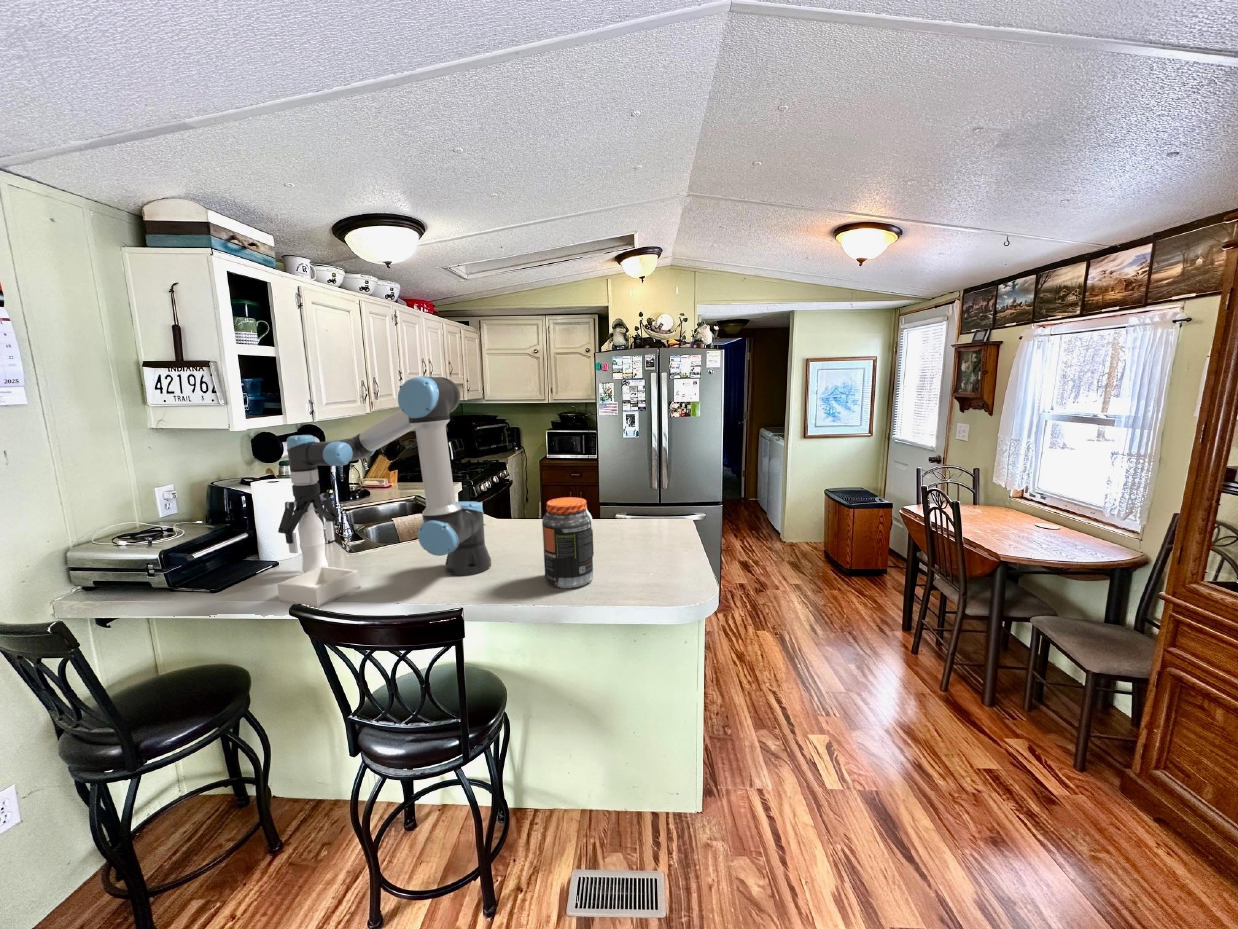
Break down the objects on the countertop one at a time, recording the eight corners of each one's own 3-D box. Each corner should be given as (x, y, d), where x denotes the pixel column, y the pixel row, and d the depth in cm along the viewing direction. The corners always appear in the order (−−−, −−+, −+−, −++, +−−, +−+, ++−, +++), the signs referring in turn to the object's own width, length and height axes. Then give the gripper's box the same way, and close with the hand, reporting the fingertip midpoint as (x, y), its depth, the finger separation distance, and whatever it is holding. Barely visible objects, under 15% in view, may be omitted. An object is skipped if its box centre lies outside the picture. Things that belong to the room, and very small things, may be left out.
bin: (360, 587, 157) (358, 570, 156) (318, 608, 143) (315, 589, 142) (324, 582, 161) (322, 565, 160) (279, 601, 147) (277, 583, 146)
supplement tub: (601, 574, 165) (599, 497, 160) (582, 592, 150) (580, 509, 146) (558, 568, 170) (555, 494, 166) (535, 586, 155) (532, 505, 151)
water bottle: (310, 572, 170) (302, 500, 166) (332, 571, 171) (324, 499, 167) (299, 580, 163) (290, 505, 159) (322, 579, 164) (313, 505, 160)
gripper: (329, 475, 175) (336, 534, 178) (258, 490, 151) (267, 557, 155) (346, 476, 172) (352, 535, 176) (276, 491, 149) (285, 559, 153)
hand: (313, 546), depth 165 cm, fingers open, 13 cm apart
